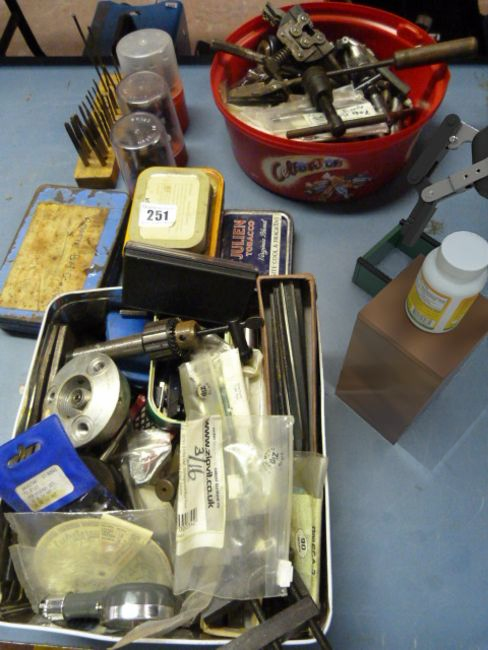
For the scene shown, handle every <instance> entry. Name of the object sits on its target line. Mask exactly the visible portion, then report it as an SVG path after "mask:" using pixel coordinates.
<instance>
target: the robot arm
mask: <svg viewBox="0 0 488 650" xmlns="http://www.w3.org/2000/svg"><path fill="white" fill-rule="evenodd" d="M468 143H469V144H471V145H470V146H471V147H470V148H471V151H470V152H471V165H469V166H467V167H465V168H462V169H460V170H458V171H456V172H454V173H452V174H450V175H449V176H448V177H446V178H444V179H441V180H439V181H437V182H435V183H433V182H432V181H431V180H430V179H431V178H432V177H433V174H434V173H435V171H436V170H437V169H438V167H439V166H440V164H441V163H442V161H443V160H444V158H445V157H446V155H447V154H448V152H450V150H451V151H457V150H459V149H460V148H462V146H463V145H465V144H468ZM406 181H407V182H408V184H410V185H411V186H412V188H413V189H414V190H415V191H416V192H417V195H418V199H417V202H416V204H415V205H414V206H413V208H412V210H411V211H410V213H409V215H408V217H407V218H406V219H405V220H406V221H405V223H404V225H403V226H402V229H401V234H402V235H404V236H405V237H404V238H403V240H402V243H403V244H405V245H407V246H408V247H413V246H414V245H415V243H416V242H417V240H418V239H419V237H420V235H421V234H422V232H425V229H426V227H427V226H428V224H429V223H430V222H431V220H432V218H433V217H434V215H435V213H436V212H437V211H438V207H436V206H437V204H439V203H441V202H444V201H445V200H448V199H450V198H453V197H454V196H457V195H460V194H463V193H466V192H467V191H470V190H472V189H474V190H475V191H476V193H477V194H478V195H479V196H480V197H482V198H484V199H486V200H488V124H487V125H486V126H485V127H484V128H482V129H477V128H475V127H473V126H471V125H469V124H468V123H466V122H464V121H462V119H461V118H460V116H459V115H458V114H456V113H449V114H447V115H446V116H445V117H444V119H443V120H442V122H441V123H440V124H439V126H438V128H437V129H436V131H434V133H433V135H432V137H431V138H430V139H429V141H428V143H427V144H426V146H424V149H423V150H422V152H421V153H420V155H419V156H418V158H417V159H416V161H415V162H414V163H413V165H412V166H411V168H410V170H409V171H408V172H407V174H406Z"/></svg>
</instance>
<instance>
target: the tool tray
mask: <svg viewBox="0 0 488 650" xmlns="http://www.w3.org/2000/svg"><path fill="white" fill-rule="evenodd" d="M406 220H407V219H405V218H404V217H402V218H401V219H399V222H398V224H397V225H395V227H393V228H392V229H391V230H390V231H389V232H388V233H387V234H385V235H384V236H383V237H381V239H379V241H377V242H376V243H375V244H374V245H372V247H371V248H370V249H369V250H367V252H365V253H364V254H363V255H362V256H359V257H358V258H356V262H355V265H354V270H353V273H352V277H351V282H352V283H354V284H355V285H356V286H358V287H359V288H361V289H362V290H363V291H364V292H366V293H367V294H368V295H370V296H371V297H372V298H374V297H375V296H376V295H377V294H378V293H379V292H380V291H381V290H382V289H383V288H384V287H386V286H387V285H388V284H389V283H390V282H391V281H392V280H393V279H394V278H391V277H390V276H389V275H387V274H386V273H385V272H383V271H382V270H380V269H379V268H377V267H376V266H377V265H378V263H380V262H382V260H383V259H385V257H387V256H388V255H389V254H390V253H391V252H392V251H393V250H394V249H396V248H397V249H398V250H400V251H401V252H403V253H404V254H406V255H407V256H408V257H410V258H411V259H412V260H414V259H415V258H416V257H417V256H418V255H419V254H423V255H424V256H426V257H427V255H428V254H429V253H430V252H431V251H432V250H434V249H435V248H437V247H439V246H440V245H441V243H442V242H440V241H439V240H437V239H436V238H434V237H432V236H431V235H429V234H428V233H426V232H425V231H423V232H422V234H421V235H420V237H419V239H418V240H417V242H416V243H415V245H414V246H413V247H408V246H407V245H405V244H403V243H402V240H403V238H404V237H405V236H404V235H402V234H401V229H402V226H403V225H404V223H405V221H406Z"/></svg>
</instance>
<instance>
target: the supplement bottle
mask: <svg viewBox="0 0 488 650" xmlns="http://www.w3.org/2000/svg"><path fill="white" fill-rule="evenodd" d="M440 243H441V245H440V246H439V247H437V248H435V249H434V250H432V251H431V252H430V253H429V254H428V255H427V257H426V258H425V260H424V262H423V264H422V266H421V269H420V271H419V273H418V275H417V278H416V280H415V282H414V284H413V286H412V288H411V291H410V293H409V295H408V297H407V300H406V312H407V315H408V317H409V318H410V320H411V321H412V322H413V323H414V324H415V325H416V326H417V327H419V328H420V329H422V330H424V331H427V332H431V333H443V332H447V331H449V330H451V329H453V328H454V327H456V326H457V325H458V323H459V322H460V321H461V319H462V318H463V316H464V315H465V314H466V312H467V310H468V309H469V308H470V306H471V305H472V303H473V302H474V300H475V299H476V297H477V296H478V295H479V293H480V294H481V292H482V290H483V289H484V287H485V286H486V284H487V282H488V241H486V239H485V238H484V237H482V236H481V235H479V234H477V233H475V232H472V231H467V230H459V231H454V232H451V233H449V234H447V236H446V237H445V238H444V239H443V240H442V242H440Z"/></svg>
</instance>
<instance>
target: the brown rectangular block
mask: <svg viewBox="0 0 488 650" xmlns="http://www.w3.org/2000/svg"><path fill="white" fill-rule="evenodd" d="M425 258H426V256H424V255H423V254H419V255H418V256H417V257H416V258H415V259H412V261H411V262H410V263H408V264H407V266H406V267H405V268H403V269H402V270H401V271H399V273H398V274H397V275H396V276H395V277H393V278H392V279H393V280H392V281H391V282H390V283H389V284H388V285H387V286H386V287H384V288H383V289H382V290H381V291H380V292H379V293H378V294H377V295H376V296H375V297H372V299H370V301H368V303H366V304H365V305H364V306H363V307H362V308H361V309H360V310H359V311H358V313H357V316H356V319H355V323H354V326H353V329H352V332H351V337H350V339H349V343H348V346H347V350H346V353H345V357H344V359H343V364H342V366H341V370H340V373H339V377H338V380H337V384H336V387H335V391H334V395H335V396H336V397H337V398H338V399H339V400H340V401H342V402H343V403H344V404H345V405H346V406H347V407H348V408H349V409H351V410H352V411H353V412H354V413H355V414H357V416H359V417H360V418H361V419H362V420H363V421H364V422H366V423H367V424H368V425H369V426H370V427H371V428H372V429H374V431H376V432H377V433H378V434H379V435H380V436H381V437H382V438H383V439H385V440H386V441H387V442H388V443H389V444H391V446H395V445H397V442H398V441H399V440H400V439H401V438H402V437H403V436H404V435H405V434H406V433H407V431H409V429H410V428H411V427H412V426H413V425H414V424H415V423H416V422H417V421H418V419H420V417H421V416H422V415H423V414H424V413H425V412H426V410H428V409H429V408H430V407H431V405H432V404H433V403H434V402H435V401H436V400H437V398H438V397H439V396H440V395H441V394H442V393H443V391H444V390H445V389H446V388H447V387H448V385H449V384H450V383H451V381H452V380H453V379H454V378H455V376H456V375H457V374H458V373H459V371H460V370H461V369H462V367H463V366H464V365H465V364H466V363H467V361H468V360H469V358H471V356H472V355H473V354H474V352H475V351H476V350H477V349H478V347H479V346H480V345H481V344H482V342H483V341H484V340H485V339H486V337H487V336H488V298H487V297H486V296H485V295H483V294H482V293H481V292H480V293H479V295H478V296H477V297H476V299H475V300H474V302H473V303H472V305H471V306H470V308H469V309H468V310H467V312H466V314H465V315H464V316H463V318H462V319H461V321H460V322H459V323H458V325H457V326H456V327H454V328H453V329H451V330H449V331H447V332H443V333H431V332H427V331H424V330H422V329H420V328H419V327H417V326H416V325H415V324H414V323H413V322H412V321H411V320H410V318H409V317H408V315H407V312H406V300H407V297H408V295H409V293H410V291H411V288H412V286H413V284H414V282H415V280H416V278H417V275H418V273H419V271H420V269H421V266H422V264H423V262H424V260H425Z"/></svg>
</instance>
